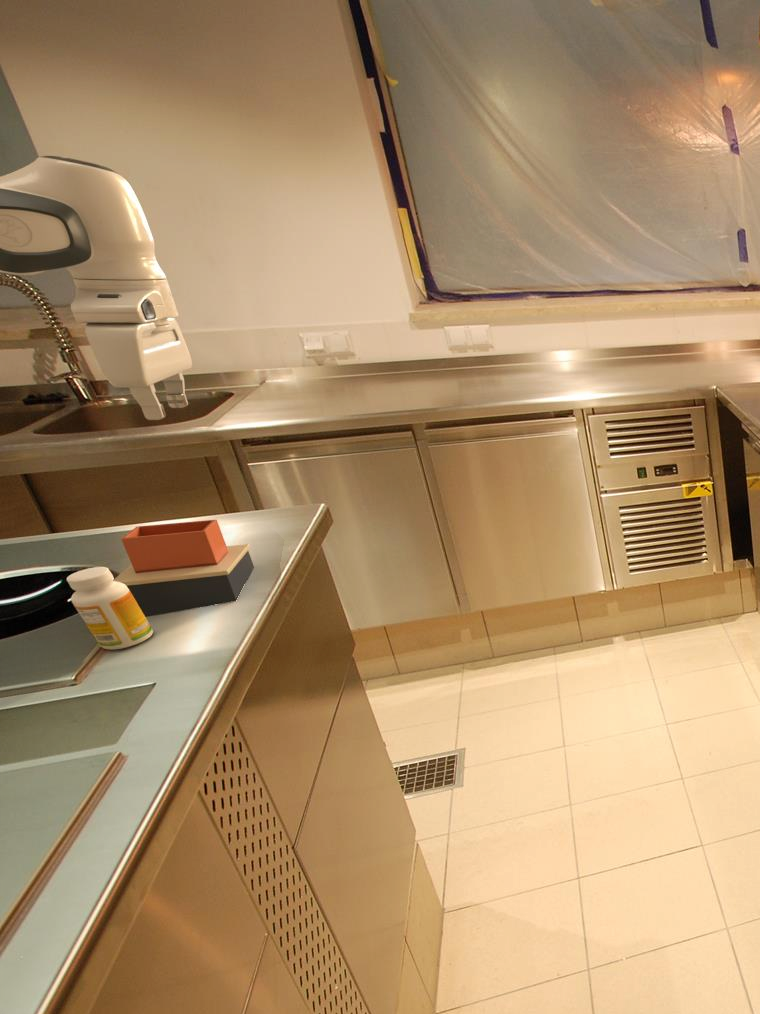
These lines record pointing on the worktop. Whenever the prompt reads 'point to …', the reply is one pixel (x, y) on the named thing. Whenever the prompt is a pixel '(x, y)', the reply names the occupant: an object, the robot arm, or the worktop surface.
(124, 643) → the supplement bottle
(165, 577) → the slate storage box
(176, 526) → the terracotta tub
